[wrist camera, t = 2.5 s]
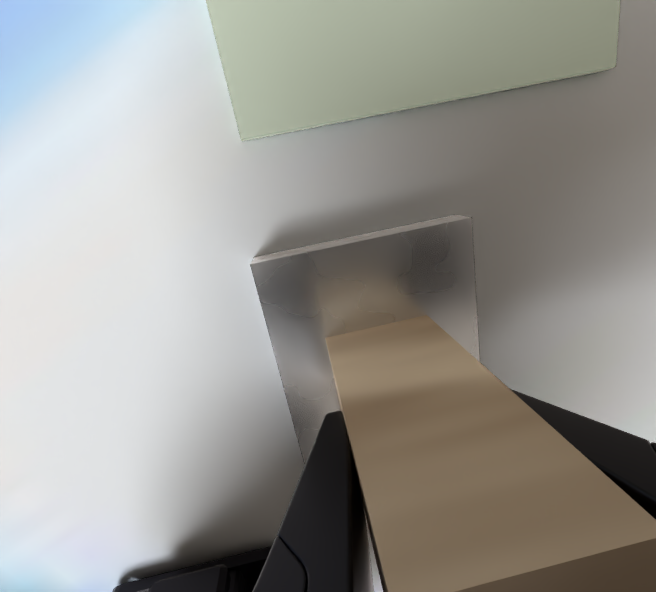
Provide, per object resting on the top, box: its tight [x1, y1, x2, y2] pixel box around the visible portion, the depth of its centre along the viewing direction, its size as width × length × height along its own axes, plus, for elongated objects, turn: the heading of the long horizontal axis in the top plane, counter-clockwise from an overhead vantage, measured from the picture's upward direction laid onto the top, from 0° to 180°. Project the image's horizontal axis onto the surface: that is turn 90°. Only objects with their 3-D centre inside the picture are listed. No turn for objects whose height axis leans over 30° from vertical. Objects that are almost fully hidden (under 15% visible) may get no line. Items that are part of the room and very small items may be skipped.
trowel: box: [250, 215, 656, 592], centre depth 7 cm, size 8×6×8 cm
